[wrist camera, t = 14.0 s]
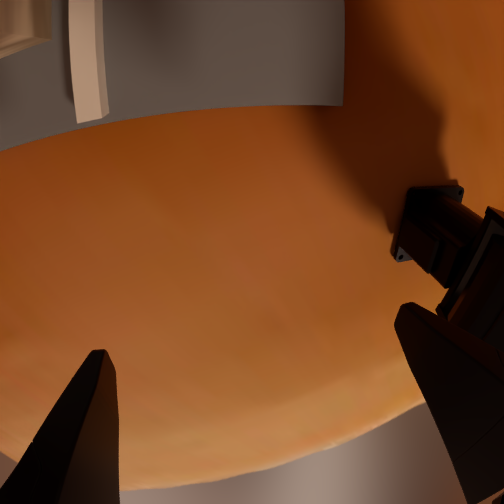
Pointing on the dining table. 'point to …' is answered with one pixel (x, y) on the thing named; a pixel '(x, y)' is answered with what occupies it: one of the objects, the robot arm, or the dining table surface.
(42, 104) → the board
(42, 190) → the dining table surface
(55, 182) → the dining table surface
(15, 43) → the block
